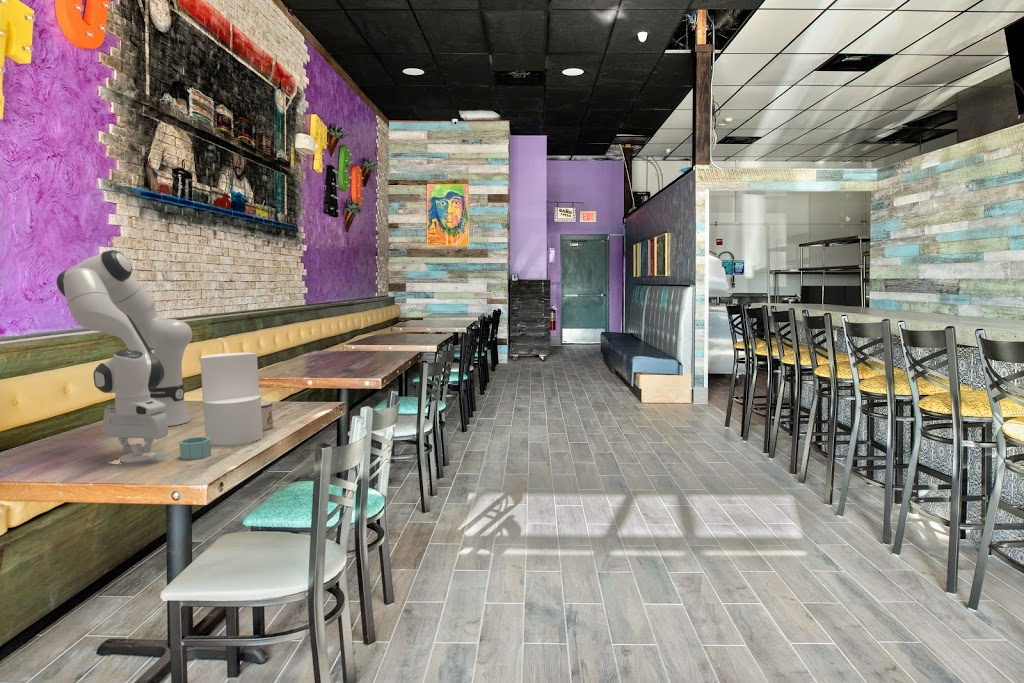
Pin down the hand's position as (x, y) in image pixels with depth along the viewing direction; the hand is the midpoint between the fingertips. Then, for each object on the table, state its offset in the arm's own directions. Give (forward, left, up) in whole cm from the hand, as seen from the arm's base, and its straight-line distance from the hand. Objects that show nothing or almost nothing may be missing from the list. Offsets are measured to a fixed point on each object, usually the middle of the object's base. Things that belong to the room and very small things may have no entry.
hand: (137, 451), depth 181 cm
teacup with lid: (+11, +42, -3) cm, 43 cm away
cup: (+15, +6, -2) cm, 16 cm away
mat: (0, 0, -2) cm, 2 cm away
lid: (0, 0, -2) cm, 2 cm away
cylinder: (+13, +26, -3) cm, 29 cm away
